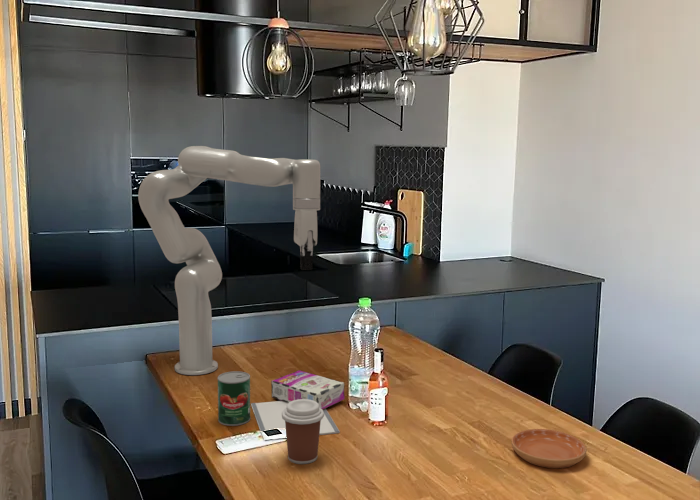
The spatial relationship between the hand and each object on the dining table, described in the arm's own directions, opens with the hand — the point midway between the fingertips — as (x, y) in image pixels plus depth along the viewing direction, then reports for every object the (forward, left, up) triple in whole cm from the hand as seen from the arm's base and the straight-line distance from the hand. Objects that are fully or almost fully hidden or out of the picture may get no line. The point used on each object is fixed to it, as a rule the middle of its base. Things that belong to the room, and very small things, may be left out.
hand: (306, 269), depth 193 cm
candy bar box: (+10, -8, -29) cm, 32 cm away
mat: (+27, -9, -32) cm, 43 cm away
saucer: (+60, +42, -33) cm, 80 cm away
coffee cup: (+48, -11, -32) cm, 59 cm away
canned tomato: (+24, -23, -32) cm, 46 cm away
